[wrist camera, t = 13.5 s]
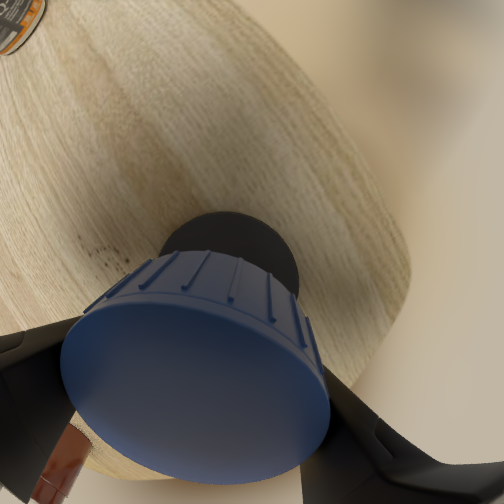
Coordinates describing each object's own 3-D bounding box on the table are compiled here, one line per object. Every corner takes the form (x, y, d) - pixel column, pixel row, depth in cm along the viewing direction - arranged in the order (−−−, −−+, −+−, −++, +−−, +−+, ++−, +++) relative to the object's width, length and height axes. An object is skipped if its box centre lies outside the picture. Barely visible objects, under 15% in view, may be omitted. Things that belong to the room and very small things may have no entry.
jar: (86, 431, 19) (46, 507, 8) (96, 455, 20) (65, 522, 10) (45, 409, 19) (0, 474, 8) (58, 435, 20) (23, 495, 10)
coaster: (314, 230, 13) (317, 232, 12) (276, 352, 15) (277, 358, 14) (168, 198, 13) (164, 199, 12) (154, 324, 15) (150, 329, 14)
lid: (190, 196, 7) (137, 214, 4) (353, 345, 8) (386, 418, 5) (85, 338, 9) (38, 390, 5) (220, 435, 10) (210, 498, 6)
